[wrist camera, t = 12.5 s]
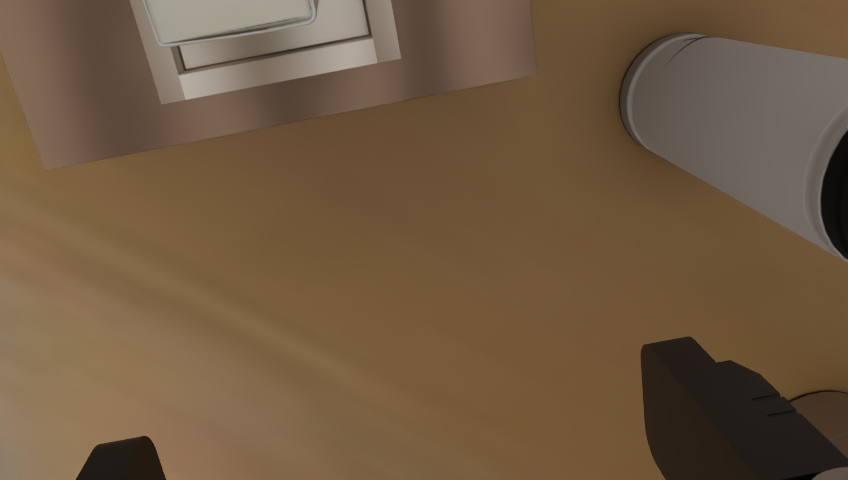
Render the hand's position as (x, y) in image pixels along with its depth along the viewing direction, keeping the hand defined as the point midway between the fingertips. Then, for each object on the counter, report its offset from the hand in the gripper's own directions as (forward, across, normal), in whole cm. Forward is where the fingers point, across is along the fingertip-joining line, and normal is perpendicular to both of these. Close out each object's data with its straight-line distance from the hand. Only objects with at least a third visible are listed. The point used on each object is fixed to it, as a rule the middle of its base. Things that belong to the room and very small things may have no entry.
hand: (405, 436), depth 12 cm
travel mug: (+27, -16, +1) cm, 31 cm away
